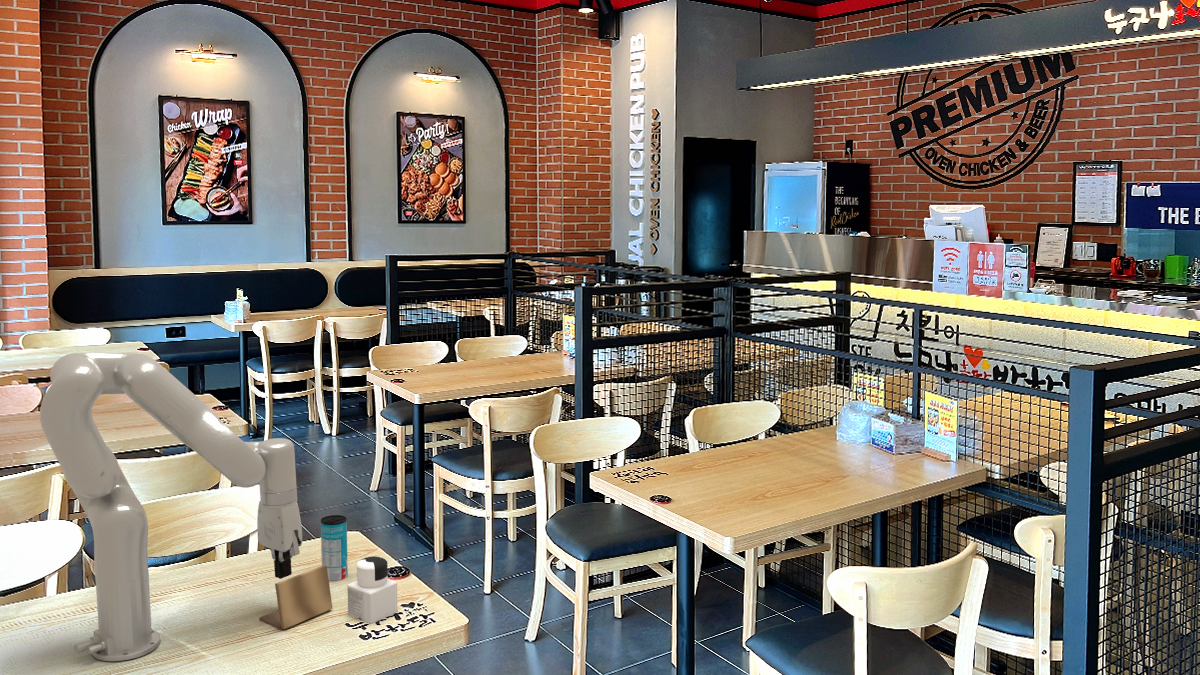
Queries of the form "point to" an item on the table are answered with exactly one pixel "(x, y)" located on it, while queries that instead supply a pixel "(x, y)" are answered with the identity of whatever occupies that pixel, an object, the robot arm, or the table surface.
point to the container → (372, 591)
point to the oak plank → (303, 596)
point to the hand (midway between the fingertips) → (283, 575)
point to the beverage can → (334, 546)
